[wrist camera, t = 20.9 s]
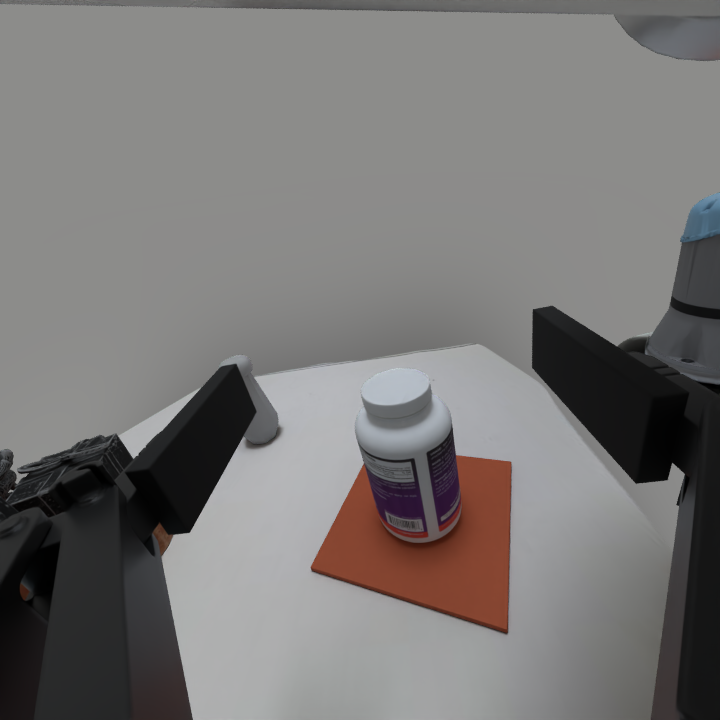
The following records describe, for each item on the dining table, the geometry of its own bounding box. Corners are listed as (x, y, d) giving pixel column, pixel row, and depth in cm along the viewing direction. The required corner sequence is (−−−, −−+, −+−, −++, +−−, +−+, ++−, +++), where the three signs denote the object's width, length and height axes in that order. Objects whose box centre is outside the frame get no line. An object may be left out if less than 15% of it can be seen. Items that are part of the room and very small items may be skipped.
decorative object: (224, 487, 42) (136, 321, 32) (78, 678, 26) (-178, 461, 16) (89, 478, 50) (-13, 343, 40) (-85, 619, 34) (-320, 451, 25)
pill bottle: (439, 468, 36) (422, 351, 30) (479, 530, 29) (468, 392, 23) (369, 493, 35) (337, 377, 29) (393, 563, 28) (357, 428, 22)
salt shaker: (290, 431, 50) (261, 354, 44) (256, 454, 47) (220, 373, 41) (270, 419, 54) (241, 347, 48) (238, 439, 51) (204, 365, 45)
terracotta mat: (511, 465, 36) (511, 461, 35) (507, 633, 23) (507, 629, 23) (373, 448, 42) (372, 445, 42) (311, 571, 30) (310, 567, 29)
